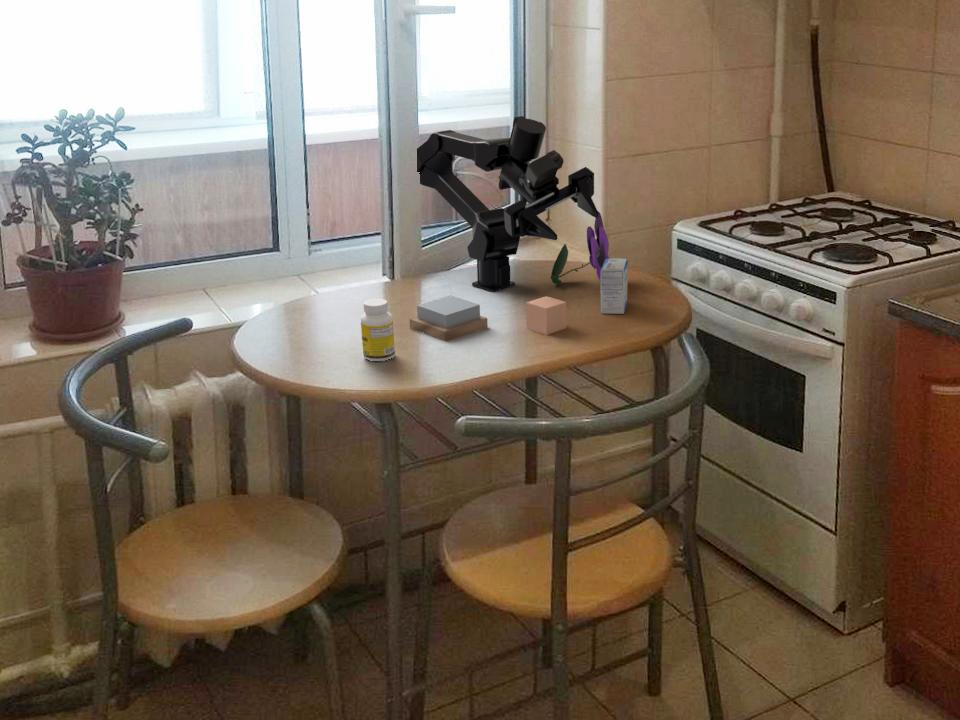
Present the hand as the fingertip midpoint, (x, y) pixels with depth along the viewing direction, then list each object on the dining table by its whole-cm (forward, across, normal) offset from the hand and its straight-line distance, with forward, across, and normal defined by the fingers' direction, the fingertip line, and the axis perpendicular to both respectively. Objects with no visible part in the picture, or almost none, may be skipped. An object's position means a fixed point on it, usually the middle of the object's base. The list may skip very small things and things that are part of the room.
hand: (577, 226), depth 200 cm
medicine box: (+7, +3, +18) cm, 19 cm away
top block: (-4, -26, +10) cm, 28 cm away
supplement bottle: (+2, -43, +4) cm, 43 cm away
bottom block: (-3, -27, +12) cm, 30 cm away
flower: (-6, +6, +24) cm, 26 cm away
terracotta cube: (+8, -13, +12) cm, 19 cm away
